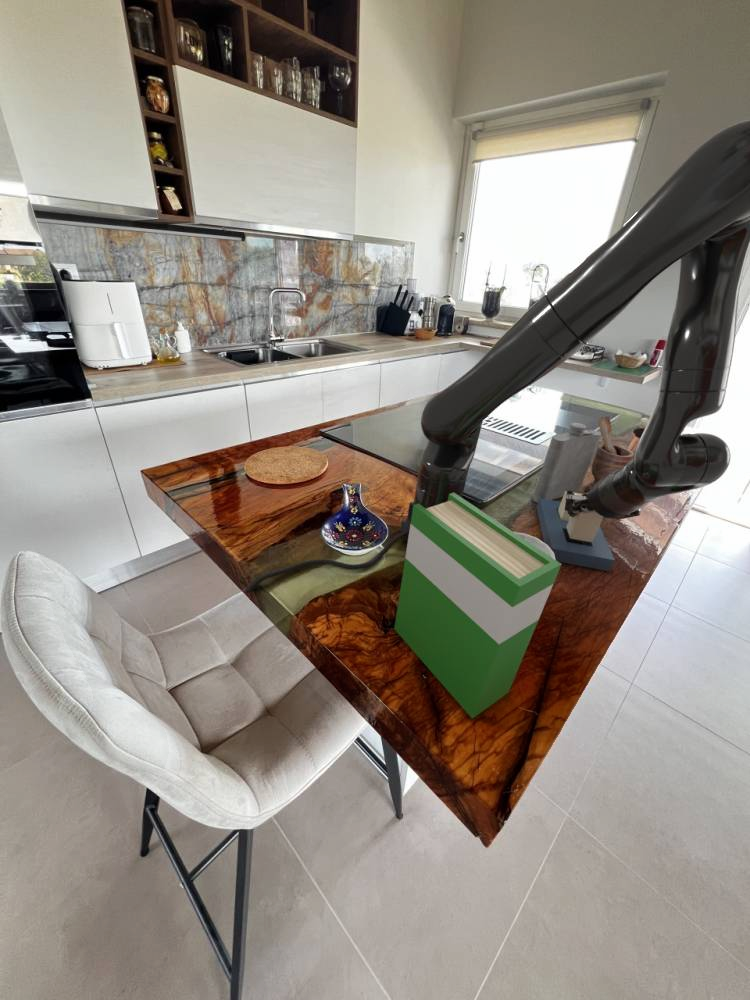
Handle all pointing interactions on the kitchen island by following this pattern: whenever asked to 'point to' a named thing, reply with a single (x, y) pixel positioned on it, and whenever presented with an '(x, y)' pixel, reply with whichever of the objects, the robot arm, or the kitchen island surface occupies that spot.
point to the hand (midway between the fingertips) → (583, 514)
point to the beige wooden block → (561, 511)
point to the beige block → (584, 526)
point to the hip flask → (566, 462)
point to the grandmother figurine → (638, 434)
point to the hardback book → (470, 599)
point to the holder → (567, 552)
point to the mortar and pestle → (608, 455)
